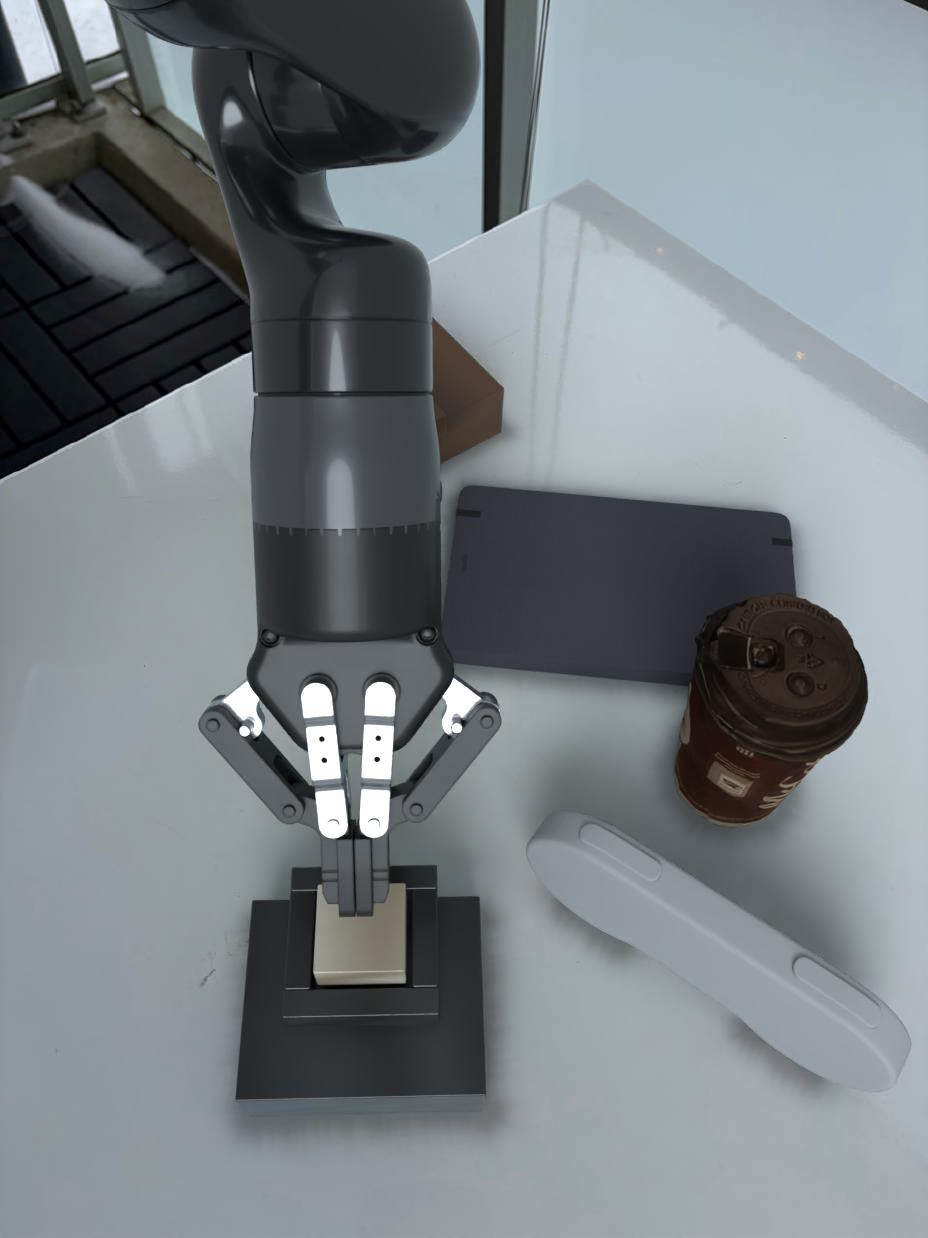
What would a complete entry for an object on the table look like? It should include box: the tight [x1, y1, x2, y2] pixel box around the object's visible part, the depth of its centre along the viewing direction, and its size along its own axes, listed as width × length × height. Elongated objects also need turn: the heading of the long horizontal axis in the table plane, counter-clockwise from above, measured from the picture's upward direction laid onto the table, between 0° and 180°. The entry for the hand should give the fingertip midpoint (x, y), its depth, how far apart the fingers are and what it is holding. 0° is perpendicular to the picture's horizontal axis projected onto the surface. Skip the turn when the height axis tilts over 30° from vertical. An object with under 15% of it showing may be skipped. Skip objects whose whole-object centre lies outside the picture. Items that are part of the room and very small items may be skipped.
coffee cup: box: [673, 593, 869, 828], centre depth 55 cm, size 9×8×13 cm
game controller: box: [525, 809, 912, 1094], centre depth 51 cm, size 20×2×8 cm, turn 55°
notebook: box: [442, 484, 797, 687], centre depth 67 cm, size 13×2×21 cm
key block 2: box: [429, 316, 505, 465], centre depth 72 cm, size 12×11×6 cm
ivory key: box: [313, 883, 407, 985], centre depth 49 cm, size 4×4×2 cm
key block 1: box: [234, 864, 487, 1118], centre depth 51 cm, size 11×10×6 cm
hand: (358, 908), depth 47 cm, fingers closed
